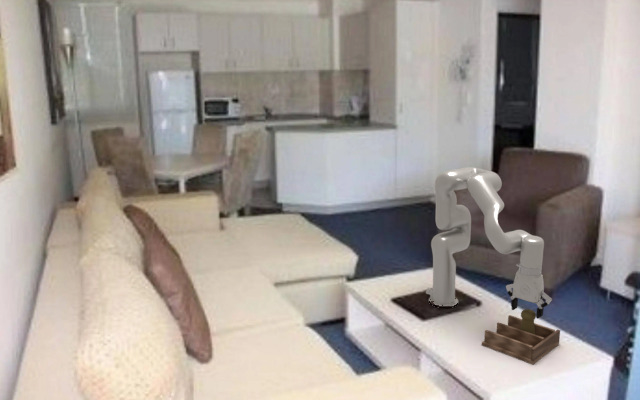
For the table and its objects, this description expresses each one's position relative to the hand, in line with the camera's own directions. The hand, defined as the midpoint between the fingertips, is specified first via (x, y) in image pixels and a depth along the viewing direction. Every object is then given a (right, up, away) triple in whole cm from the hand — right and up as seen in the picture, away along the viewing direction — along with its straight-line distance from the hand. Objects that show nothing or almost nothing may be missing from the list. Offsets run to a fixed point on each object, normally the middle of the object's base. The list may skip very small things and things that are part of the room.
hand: (526, 312), depth 211 cm
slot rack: (-3, -12, -1) cm, 12 cm away
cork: (+1, -10, +2) cm, 10 cm away
